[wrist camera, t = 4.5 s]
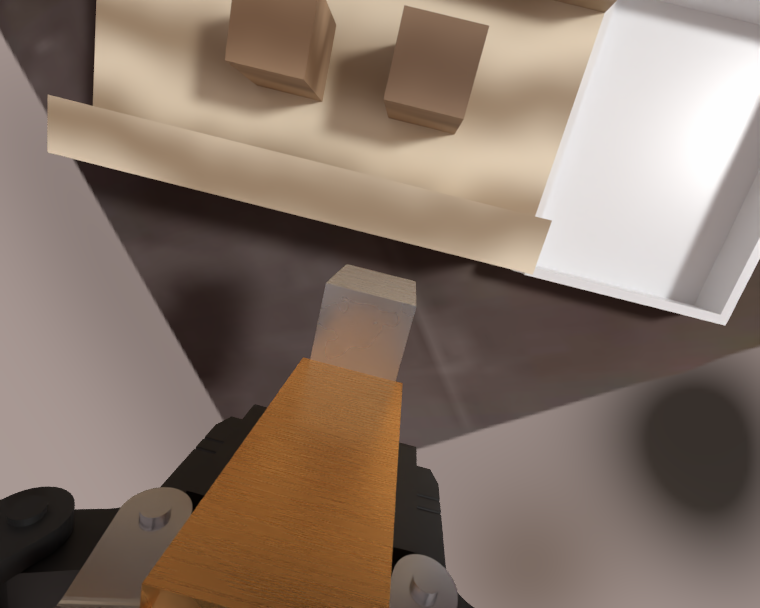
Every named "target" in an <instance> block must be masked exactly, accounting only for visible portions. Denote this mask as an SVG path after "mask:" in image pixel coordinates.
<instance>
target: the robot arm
mask: <svg viewBox="0 0 760 608" xmlns="http://www.w3.org/2000/svg"><path fill="white" fill-rule="evenodd" d="M266 409H267V407H263V406H259V405H254V406H253V407H252V408H251V409H250V410H249V412H248V413H247V414H246V415H245V417H244V418H243V419H239V418H235V417H230V418H228V419H226V420H224V421H222V422H220V423H218V424H216V425H215V426H214V427H213V429H212V430H211V431H210V432H209V433H208V434H207V435H206V437H205V439H203V440H202V441H201V442H200V443H199V444H198V445H197V447H196V449H194V450H193V451H192V452H191V453H190V454H189V456H188V457H187V458H186V459H185V460H184V461H183V462H182V463H181V465H180V466H179V467H178V468H177V469H176V470H175V471H174V472H173V473H172V475H171V476H170V477H169V478H168V479H167V480H166V481H165V482H164V484H163V485H162V486H161V487H160V488H153V489H149V490H146V491H143V492H141V493H139V494H137V495H135V496H133V497H132V498H130V499H129V500H128V501H127V502H126V503H124V504H123V505H122V507H121V508H114V509H80V510H74V506H75V505H74V498H73V496H72V495H71V493H69V492H68V491H66V490H64V489H62V488H57V487H38V488H32V489H28V490H24V491H21V492H18V493H15V494H13V495H10V496H9V497H6V498H4V499H2V500H0V608H140V598H141V587H142V583H143V581H144V580H145V579H146V577H147V576H148V574H149V573H150V572H151V570H152V569H153V567H154V566H155V565H156V563H157V562H158V560H159V559H160V558H161V556H162V555H163V553H164V552H165V551H166V549H167V548H168V546H169V545H170V544H171V542H172V541H173V539H174V538H175V537H176V535H177V534H178V532H179V531H180V530H181V528H182V527H183V525H184V524H185V523H186V521H187V520H188V518H189V517H190V516H191V514H192V513H193V511H194V510H195V509H196V507H197V506H198V504H199V503H200V502H201V500H202V499H203V497H204V496H205V494H206V493H207V492H208V490H209V489H210V487H211V486H212V485H213V483H214V482H215V480H216V479H217V478H218V476H219V475H220V473H221V472H222V471H223V469H224V468H225V466H226V465H227V464H228V462H229V461H230V459H231V458H232V457H233V455H234V454H235V452H236V451H237V450H238V448H239V447H240V445H241V444H242V443H243V441H244V440H245V438H246V437H247V436H248V434H249V433H250V431H251V430H252V429H253V427H254V426H255V424H256V423H257V422H258V420H259V419H260V417H261V416H262V415H263V413H264V412H265V410H266ZM440 512H441V510H440V503H439V487H438V483H437V481H436V479H435V478H434V476H433V474H432V472H431V470H430V469H427V468H423V467H419V466H417V465H416V447H414V446H410V445H406V444H402V443H399V449H398V466H397V483H396V500H395V517H394V534H393V551H392V568H391V585H390V602H389V608H474V607H472V606H471V605H470V604H468V603H467V602H466V601H465V600H464V599H463V598H462V597H461V596H460V595H459V594H458V592H457V588H456V585H455V583H454V581H453V579H452V577H451V575H450V574H449V573H448V571H447V570H446V565H445V555H444V544H443V532H442V521H441V515H440Z"/></svg>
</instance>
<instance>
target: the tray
mask: <svg viewBox="0 0 760 608" xmlns="http://www.w3.org/2000/svg"><path fill="white" fill-rule="evenodd" d="M535 217H539V218H543V219H547V220H551V221H552V222H551V225H550V228H549V230H548V233H547V236H546V239H545V242H544V244H543V247H542V250H541V253H540V256H539V259H538V261H537V264H536V267H535V270H534V273H533V275H532V274H528V273H524V272H520V271H516V270H512V269H511V270H512V271H515V272H519V273H522V274H524V275H527V276H531V277H535V278H539V279H543V280H547V281H551V282H555V283H559V284H563V285H567V286H571V287H575V288H579V289H583V290H587V291H591V292H595V293H599V294H603V295H607V296H611V297H615V298H618V299H622V300H626V301H630V302H634V303H638V304H642V305H646V306H650V307H654V308H658V309H662V310H666V311H670V312H674V313H678V314H682V315H686V316H690V317H694V318H698V319H702V320H706V321H710V322H714V323H718V324H722V325H726V323H727V321H728V319H729V317H730V316H731V314H732V312H733V310H734V308H735V306H736V304H737V302H738V300H739V298H740V296H741V294H742V292H743V290H744V288H745V286H746V284H747V282H748V280H749V278H750V277H751V275H752V273H753V271H754V269H755V267H756V265H757V263H758V261H759V259H760V0H617V1H616V2H615V3H614V4H613V5H612V6H611V7H610V8H609V9H608V10H607V11H606V12H605V14H604V16H603V19H602V22H601V25H600V28H599V31H598V34H597V37H596V40H595V43H594V46H593V49H592V52H591V54H590V57H589V60H588V63H587V66H586V69H585V72H584V75H583V78H582V81H581V84H580V87H579V89H578V92H577V95H576V98H575V101H574V104H573V107H572V110H571V113H570V116H569V119H568V122H567V125H566V127H565V130H564V133H563V136H562V139H561V142H560V145H559V148H558V151H557V154H556V157H555V160H554V162H553V165H552V168H551V171H550V174H549V177H548V180H547V183H546V186H545V189H544V192H543V195H542V198H541V200H540V203H539V206H538V209H537V212H536V215H535Z"/></svg>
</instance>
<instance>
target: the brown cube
mask: <svg viewBox="0 0 760 608" xmlns="http://www.w3.org/2000/svg"><path fill="white" fill-rule="evenodd" d="M488 29H489V25H484V24H480V23H476V22H472V21H468V20H464V19H460V18H456V17H451V16H447V15H443V14H439V13H435V12H431V11H427V10H422V9H418V8H414V7H410V6H406V5H404V9H403V13H402V18H401V22H400V27H399V32H398V36H397V41H396V45H395V50H394V54H393V59H392V63H391V68H390V72H389V77H388V82H387V86H386V91H385V95H384V103H385V107H386V111H387V115H388V118H390V119H394V120H398V121H402V122H406V123H411V124H415V125H419V126H423V127H427V128H431V129H435V130H439V131H443V132H447V133H451V134H455V133H456V131H457V130H458V128H459V126H460V125H461V123H462V121H463V120H464V117H465V113H466V109H467V106H468V102H469V98H470V95H471V91H472V87H473V84H474V80H475V77H476V73H477V69H478V66H479V62H480V58H481V55H482V51H483V47H484V44H485V40H486V36H487V33H488Z"/></svg>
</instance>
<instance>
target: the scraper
mask: <svg viewBox="0 0 760 608" xmlns="http://www.w3.org/2000/svg"><path fill="white" fill-rule="evenodd" d="M415 309H416V282H415V281H411V280H407V279H404V278H400V277H396V276H392V275H388V274H384V273H380V272H376V271H372V270H368V269H364V268H360V267H356V266H353V265H349V264H346V265H345V266H344V267H343V268H342V269H341V270H340V271H339V272H338V273H337V274H335V275H334V276H333V277H332V278H331V279H330V280H329V281H328V282H327V283H326V286H325V291H324V296H323V300H322V305H321V310H320V315H319V320H318V325H317V329H316V334H315V339H314V344H313V349H312V354H311V358H310V359H307V358H303V359H302V360H301V361H300V363H299V364H298V366H297V367H296V368H295V370H294V371H293V373H292V374H291V375H290V377H289V378H288V380H287V381H286V382H285V384H284V385H283V387H282V388H281V389H280V391H279V392H278V394H277V395H276V396H275V398H274V399H273V401H272V402H271V403H270V405H269V406H268V408H267V409H266V410H265V412H264V413H263V415H262V416H261V417H260V419H259V420H258V422H257V423H256V424H255V426H254V427H253V429H252V430H251V431H250V433H249V434H248V436H247V437H246V438H245V440H244V441H243V443H242V444H241V445H240V447H239V448H238V450H237V451H236V452H235V454H234V455H233V457H232V458H231V459H230V461H229V462H228V464H227V465H226V466H225V468H224V469H223V471H222V472H221V473H220V475H219V476H218V478H217V479H216V480H215V482H214V483H213V485H212V486H211V487H210V489H209V490H208V492H207V493H206V494H205V496H204V497H203V499H202V500H201V502H200V503H199V504H198V506H197V507H196V509H195V510H194V511H193V513H192V514H191V516H190V517H189V518H188V520H187V521H186V523H185V524H184V525H183V527H182V528H181V530H180V531H179V532H178V534H177V535H176V537H175V538H174V539H173V541H172V542H171V544H170V545H169V546H168V548H167V549H166V551H165V552H164V553H163V555H162V556H161V558H160V559H159V560H158V562H157V563H156V565H155V566H154V567H153V569H152V570H151V572H150V573H149V574H148V576H147V577H146V579H145V580H144V581H143V583H142V587H141V598H140V608H389V602H390V585H391V568H392V551H393V534H394V517H395V500H396V483H397V466H398V449H399V433H400V416H401V399H402V383H399V382H395V381H396V377H397V374H398V370H399V366H400V363H401V359H402V356H403V352H404V348H405V345H406V341H407V338H408V334H409V331H410V327H411V323H412V320H413V316H414V313H415Z"/></svg>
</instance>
